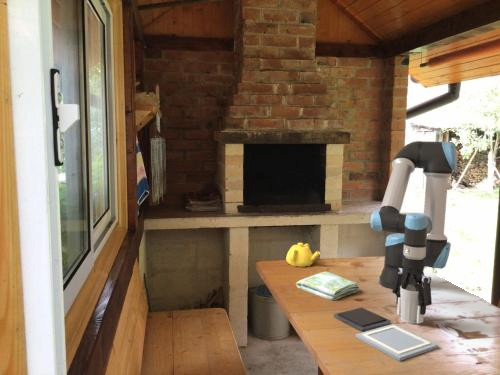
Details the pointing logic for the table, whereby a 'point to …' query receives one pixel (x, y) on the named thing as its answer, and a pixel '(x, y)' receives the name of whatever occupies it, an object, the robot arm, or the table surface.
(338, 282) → the towel
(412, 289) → the cup
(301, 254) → the teapot
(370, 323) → the ink pad
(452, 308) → the table surface
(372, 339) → the board
